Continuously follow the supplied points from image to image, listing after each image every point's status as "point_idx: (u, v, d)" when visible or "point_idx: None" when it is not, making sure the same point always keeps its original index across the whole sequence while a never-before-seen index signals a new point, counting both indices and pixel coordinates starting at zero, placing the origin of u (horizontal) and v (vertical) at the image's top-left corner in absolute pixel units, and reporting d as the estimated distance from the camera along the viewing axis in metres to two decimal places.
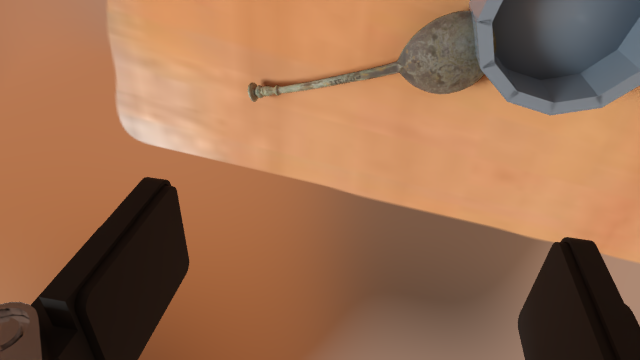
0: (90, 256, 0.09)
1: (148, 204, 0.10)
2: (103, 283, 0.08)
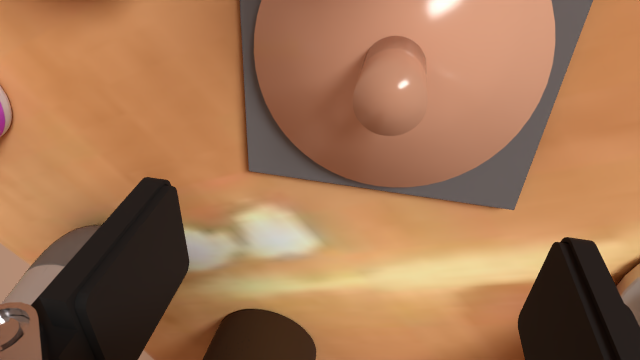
0: (90, 256, 0.09)
1: (148, 204, 0.10)
2: (103, 283, 0.08)
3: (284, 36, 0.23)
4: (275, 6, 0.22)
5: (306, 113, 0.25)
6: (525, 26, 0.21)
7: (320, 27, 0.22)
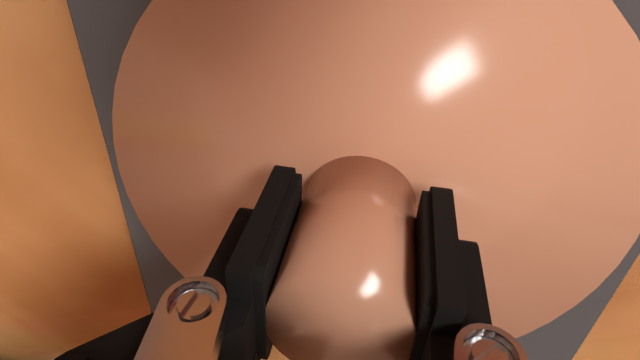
0: (256, 235, 0.09)
1: (287, 189, 0.11)
2: (270, 260, 0.09)
3: (164, 149, 0.13)
4: (140, 102, 0.12)
5: None
6: (606, 150, 0.11)
7: (224, 137, 0.12)
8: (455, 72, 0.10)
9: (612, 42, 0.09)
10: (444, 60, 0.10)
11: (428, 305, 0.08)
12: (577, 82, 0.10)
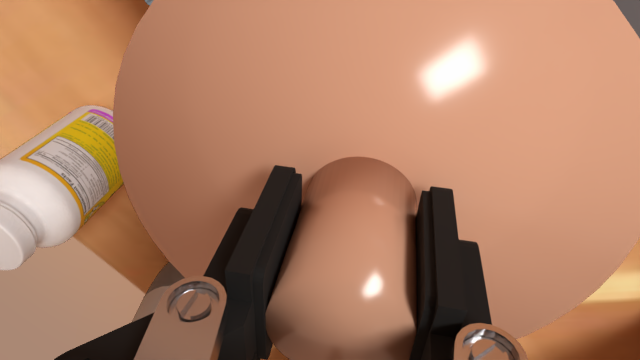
0: (255, 235, 0.09)
1: (287, 189, 0.11)
2: (270, 260, 0.09)
3: (165, 149, 0.13)
4: (141, 102, 0.12)
5: None
6: (607, 151, 0.11)
7: (225, 138, 0.12)
8: (456, 73, 0.10)
9: (615, 43, 0.09)
10: (446, 61, 0.10)
11: (428, 305, 0.08)
12: (579, 83, 0.10)
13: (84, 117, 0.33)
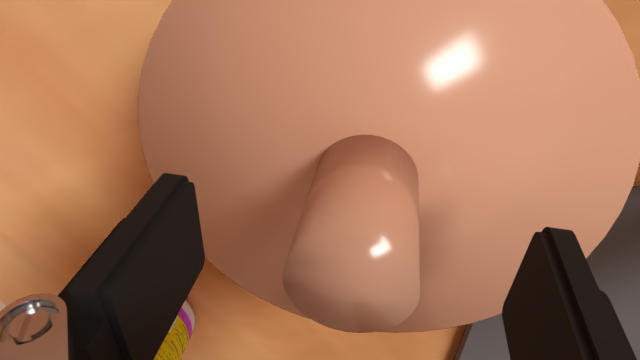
0: (115, 249, 0.09)
1: (168, 199, 0.10)
2: (128, 275, 0.09)
3: (186, 130, 0.14)
4: (165, 85, 0.13)
5: (235, 235, 0.16)
6: (591, 127, 0.12)
7: (242, 118, 0.13)
8: (455, 56, 0.11)
9: (597, 27, 0.10)
10: (445, 44, 0.11)
11: None
12: (565, 64, 0.11)
13: None
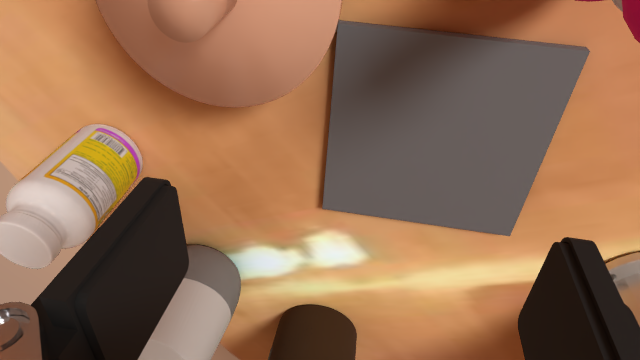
0: (90, 256, 0.09)
1: (148, 204, 0.10)
2: (103, 283, 0.08)
3: None
4: None
5: (145, 36, 0.28)
6: None
7: None
8: None
9: None
10: None
11: None
12: None
13: (92, 136, 0.38)
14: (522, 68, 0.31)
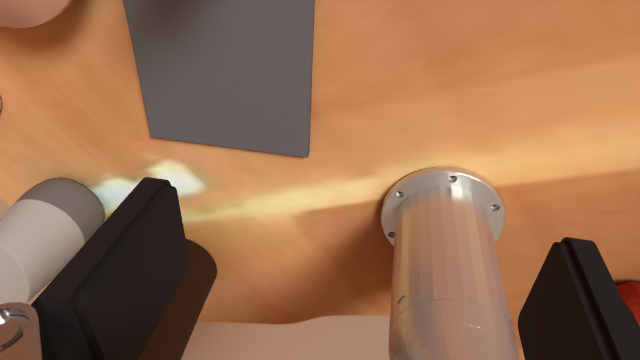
0: (91, 255, 0.09)
1: (148, 204, 0.10)
2: (103, 283, 0.08)
3: None
4: None
5: None
6: None
7: None
8: None
9: None
10: None
11: None
12: None
13: None
14: None
